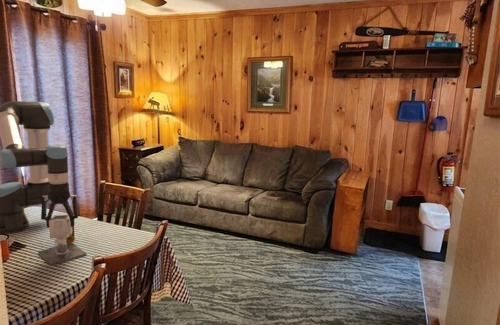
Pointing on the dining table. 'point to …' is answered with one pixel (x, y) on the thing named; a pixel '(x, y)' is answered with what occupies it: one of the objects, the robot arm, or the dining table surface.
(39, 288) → the dining table surface
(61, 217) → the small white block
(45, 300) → the dining table surface
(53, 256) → the plate
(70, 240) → the condiment
